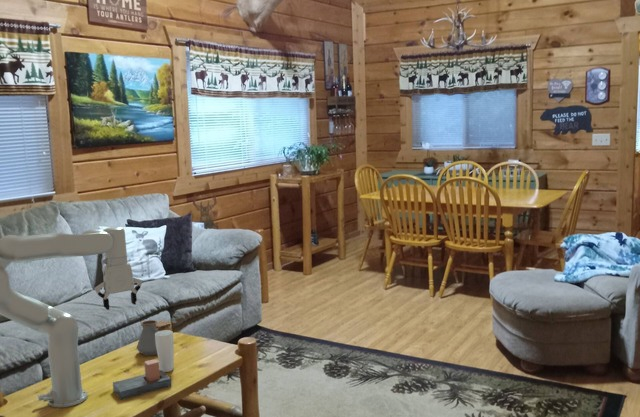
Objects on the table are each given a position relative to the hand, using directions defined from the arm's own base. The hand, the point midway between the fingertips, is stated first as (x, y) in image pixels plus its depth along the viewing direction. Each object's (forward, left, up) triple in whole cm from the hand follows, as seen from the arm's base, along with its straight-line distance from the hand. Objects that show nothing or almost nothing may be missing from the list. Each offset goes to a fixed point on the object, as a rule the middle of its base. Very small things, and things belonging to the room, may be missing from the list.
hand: (120, 306), depth 230 cm
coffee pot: (+18, +18, -28) cm, 38 cm away
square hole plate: (+2, -12, -28) cm, 31 cm away
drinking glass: (+15, -1, -28) cm, 32 cm away
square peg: (+6, -12, -28) cm, 31 cm away
